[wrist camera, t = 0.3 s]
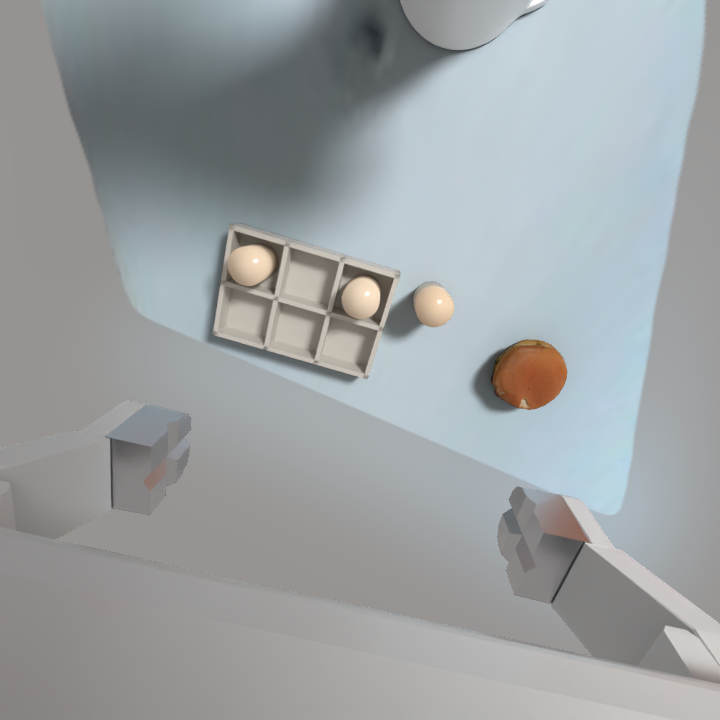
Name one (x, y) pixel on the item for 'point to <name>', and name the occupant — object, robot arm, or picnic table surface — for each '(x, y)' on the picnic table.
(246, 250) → the egg
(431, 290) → the egg
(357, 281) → the egg
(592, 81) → the picnic table surface
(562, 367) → the burger
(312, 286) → the carton
